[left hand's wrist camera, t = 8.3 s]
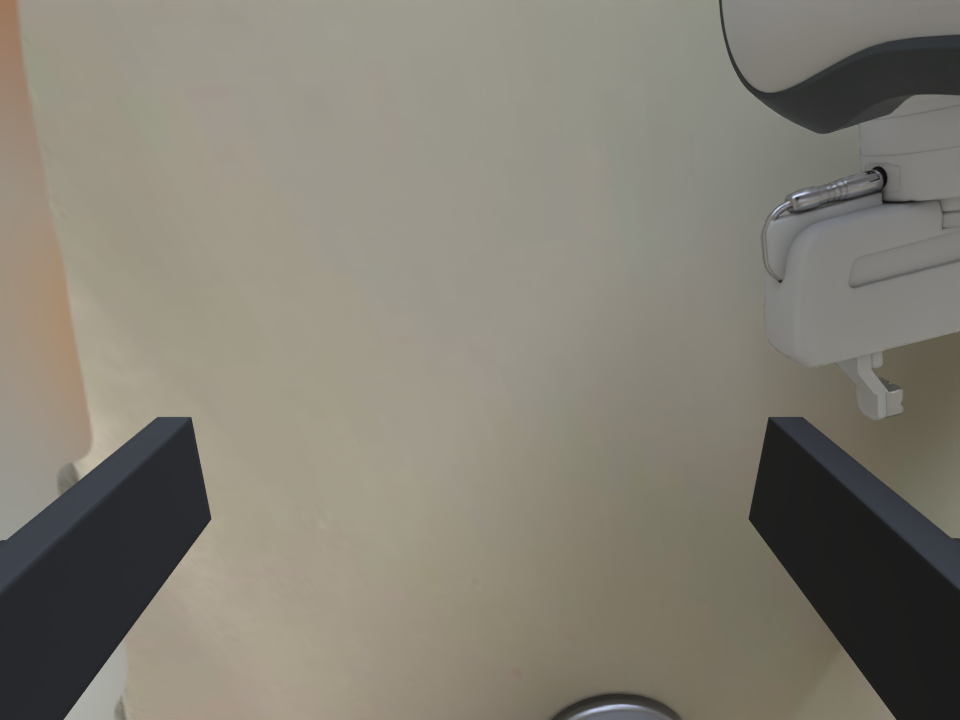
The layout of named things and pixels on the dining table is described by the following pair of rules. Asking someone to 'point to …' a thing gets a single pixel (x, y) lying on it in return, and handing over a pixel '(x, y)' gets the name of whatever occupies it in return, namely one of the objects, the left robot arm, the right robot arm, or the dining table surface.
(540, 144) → the dining table surface
